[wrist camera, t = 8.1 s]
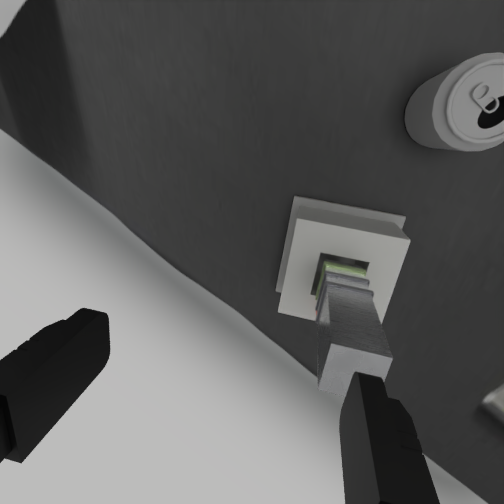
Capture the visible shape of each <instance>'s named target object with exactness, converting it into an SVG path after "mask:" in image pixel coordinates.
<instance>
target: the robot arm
mask: <svg viewBox="0 0 504 504" xmlns="http://www.w3.org/2000/svg"><path fill="white" fill-rule="evenodd" d="M109 355H110V335H109V318H108V315H107V314H106V313H104V312H100V311H96V310H91V309H87V308H82V309H80V310H78V311H77V312H75V313H74V314H73V315H72V316H70V317H69V318H68V319H67V320H60V321H58V322H55V323H53V324H51V325H49V326H46V327H44V328H43V329H42V330H40V331H39V332H38V333H36V334H35V335H33V336H32V337H31V338H30V340H29V341H25V342H24V343H23V344H21V345H20V346H19V347H18V348H17V350H13V351H12V352H11V353H9V354H8V355H7V356H5V357H4V358H3V359H1V360H0V463H1V462H2V461H3V459H4V458H5V459H9V460H12V461H16V462H19V463H22V462H23V461H24V459H26V457H27V456H28V455H29V454H30V453H31V452H32V450H33V449H34V448H35V447H36V446H37V445H38V444H39V442H40V441H41V440H42V439H43V438H44V436H45V435H46V434H47V433H48V432H49V431H50V430H51V429H52V427H53V426H54V425H55V424H56V423H57V422H58V421H59V419H60V418H61V417H62V416H63V415H64V414H65V412H66V411H67V410H68V409H69V408H70V407H71V406H72V404H73V403H74V402H75V401H76V400H77V399H78V397H79V396H80V395H81V394H82V393H83V392H84V390H85V389H86V388H87V387H88V386H89V385H90V384H91V382H92V381H93V380H94V379H95V378H96V377H97V376H98V374H99V373H100V372H101V371H102V370H103V368H104V367H105V365H106V363H107V361H108V359H109ZM339 429H340V442H341V455H342V467H343V479H344V492H345V504H440V503H439V499H438V497H437V493H436V490H435V487H434V485H433V481H432V478H431V475H430V472H429V469H428V466H427V463H426V460H425V457H424V455H422V448H421V445H420V442H419V439H417V433H416V430H415V427H414V424H413V421H412V418H411V416H410V415H409V413H408V412H407V411H406V409H405V408H404V407H403V405H402V404H401V402H400V401H399V400H396V399H392V398H388V396H387V393H386V389H385V385H384V382H383V379H382V378H381V377H378V376H374V375H370V374H365V373H361V372H357V371H355V372H354V374H353V376H352V379H351V382H350V385H349V388H348V391H347V394H346V397H345V400H344V403H343V406H342V409H341V415H340V428H339Z"/></svg>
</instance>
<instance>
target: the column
mask: <svg viewBox="0 0 504 504" xmlns="http://www.w3.org/2000/svg"><path fill="white" fill-rule="evenodd" d="M365 276H366V270H365V269H362V267H361V266H358V265H353V264H348V263H343V262H338V261H334V260H329V259H325V261H324V264H323V268H322V272H321V276H320V280H319V284H318V288H317V292H316V296H315V300H317V303H316V307H315V311H317V315H316V319H315V324H318V390H321V391H325V392H329V393H333V394H337V395H341V396H344V397H346V394H347V391H348V388H349V385H350V382H351V379H352V376H353V374H354V372H355V371H357V372H361V373H365V374H370V375H374V376H378V377H381V378H382V379H383V382H384V380H385V378H386V375H387V373H388V370H389V367H390V365H391V362H392V360H393V357H392V354H391V351H390V348H389V345H388V342H387V339H386V336H385V334H384V331H383V328H382V325H381V322H380V319H379V316H378V313H377V310H376V307H375V304H374V302H373V296H374V292H373V291H372V290H369V284H370V281H369V280H368V279H366V278H365Z"/></svg>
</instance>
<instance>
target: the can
mask: <svg viewBox="0 0 504 504" xmlns="http://www.w3.org/2000/svg"><path fill="white" fill-rule="evenodd" d="M404 120H405V125H406V130H407V132H408V133H409V135H410V136H411V138H412V139H413V140H414V141H416V142H417V143H418V144H420V145H422V146H426V147H429V148H436V149H447V150H457V151H482V150H485V149H488V148H491V147H495V146H497V145H498V144H500V143H502V142H503V141H504V54H503V53H500V52H499V53H486V54H481V55H478V56H476V57H473V58H471V59H468V60H466V61H464V62H462V63H460V64H458V65H456V66H454V67H452V68H450V69H448V70H446V71H444V72H442V73H440V74H439V75H437V76H435V77H433V78H431V79H429V80H428V81H426V82H425V83H423V84H422V85H421V86H419V87H418V88H417V90H416V91H415V92H414V93H413V95H412V96H411V97H410V100H409V102H408V104H407V107H406V110H405V119H404Z"/></svg>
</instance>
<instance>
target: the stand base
mask: <svg viewBox="0 0 504 504" xmlns="http://www.w3.org/2000/svg"><path fill="white" fill-rule="evenodd" d="M405 218H406V217H405V216H404V215H399V214H393V213H388V212H383V211H377V210H372V209H366V208H361V207H355V206H350V205H345V204H339V203H334V202H328V201H323V200H318V199H312V198H307V197H301V196H296V195H295V196H294V200H293V205H292V210H291V215H290V220H289V225H288V230H287V235H286V240H285V245H284V250H283V255H282V260H281V265H280V270H279V276H278V281H277V286H276V292H281V293H282V294H281V299H280V304H279V308H278V312H279V313H284V314H288V315H292V316H297V317H301V318H305V319H310V320H314V321H315V319H316V315H317V311H315V307H316V303H317V300H315V296H316V292H317V288H318V284H319V280H320V276H321V272H322V268H323V264H324V261H325V259H329V260H334V261H338V262H343V263H348V264H353V265H358V266H361V267H362V269H365V270H366V276H365V278H366V279H368V280H369V281H370V284H369V290H372V291H373V292H374V296H373V302H374V304H375V307H376V310H377V313H378V316H379V319H380V322H381V324H382V321H383V318H384V315H385V312H386V310H387V307H388V304H389V301H390V298H391V295H392V292H393V290H394V287H395V284H396V281H397V278H398V275H399V272H400V270H401V267H402V264H403V261H404V258H405V255H406V252H407V249H408V247H409V244H410V241H411V240H410V239H409V238H408V237H407V236H406V235H405V233H404V232H403V231H402V227H403V224H404V221H405Z"/></svg>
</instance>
